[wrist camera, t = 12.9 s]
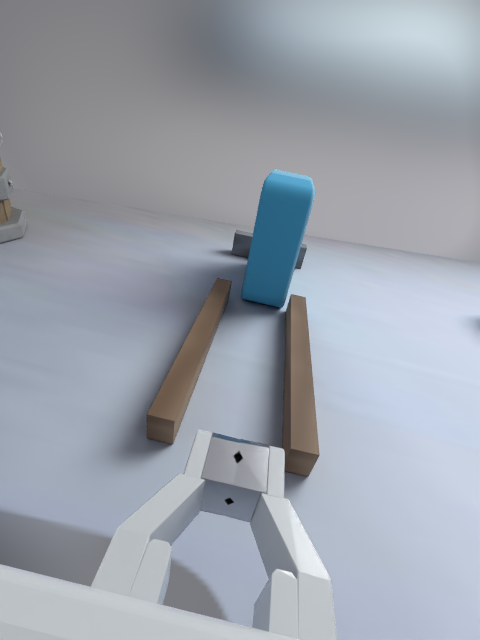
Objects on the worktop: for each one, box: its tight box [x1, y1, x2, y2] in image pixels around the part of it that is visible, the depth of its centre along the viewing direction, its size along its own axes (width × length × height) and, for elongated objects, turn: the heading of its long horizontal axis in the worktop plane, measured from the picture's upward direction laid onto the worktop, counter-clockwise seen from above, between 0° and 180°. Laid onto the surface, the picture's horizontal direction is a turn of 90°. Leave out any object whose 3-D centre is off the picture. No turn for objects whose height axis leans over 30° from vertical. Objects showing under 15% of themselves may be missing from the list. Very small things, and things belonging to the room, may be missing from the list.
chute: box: [147, 230, 319, 476], centre depth 30 cm, size 10×33×3 cm, turn 172°
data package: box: [241, 170, 315, 308], centre depth 33 cm, size 12×4×12 cm, turn 170°
